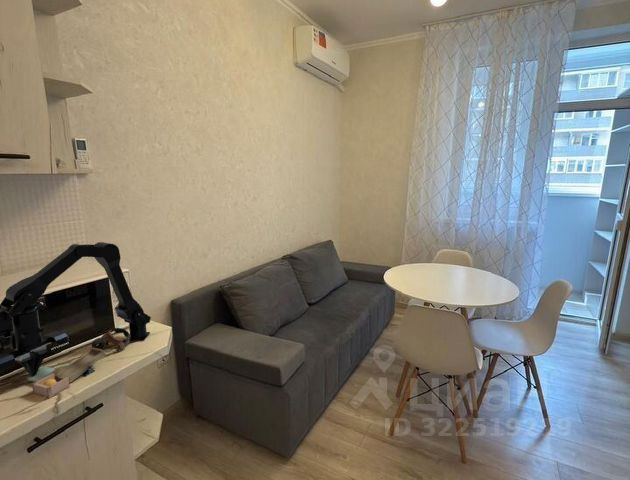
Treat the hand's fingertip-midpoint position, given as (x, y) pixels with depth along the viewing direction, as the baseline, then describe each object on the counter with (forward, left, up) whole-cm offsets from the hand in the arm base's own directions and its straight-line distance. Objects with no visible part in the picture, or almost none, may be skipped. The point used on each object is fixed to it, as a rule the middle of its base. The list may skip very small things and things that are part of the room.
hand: (33, 375), depth 96 cm
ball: (+6, +8, 0) cm, 10 cm away
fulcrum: (-4, +12, -2) cm, 13 cm away
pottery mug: (-18, +14, -2) cm, 22 cm away
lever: (-3, +8, 0) cm, 9 cm away
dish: (+5, +8, -2) cm, 10 cm away
